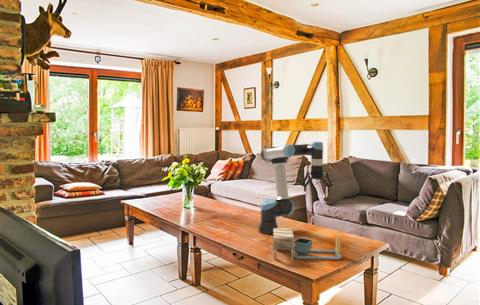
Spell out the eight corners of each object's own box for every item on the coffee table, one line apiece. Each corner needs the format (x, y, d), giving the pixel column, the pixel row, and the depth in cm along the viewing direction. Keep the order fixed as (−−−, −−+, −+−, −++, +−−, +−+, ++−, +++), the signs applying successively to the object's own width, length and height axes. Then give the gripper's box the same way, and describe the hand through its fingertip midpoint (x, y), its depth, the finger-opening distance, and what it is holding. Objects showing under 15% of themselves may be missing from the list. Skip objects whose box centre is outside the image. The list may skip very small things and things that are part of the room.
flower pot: (293, 255, 222) (293, 241, 222) (299, 251, 230) (299, 237, 229) (307, 258, 218) (307, 243, 217) (312, 253, 225) (312, 239, 224)
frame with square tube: (292, 250, 230) (292, 232, 229) (337, 252, 228) (337, 233, 227) (293, 258, 216) (294, 238, 216) (341, 259, 214) (342, 240, 213)
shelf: (273, 249, 234) (273, 228, 233) (291, 249, 233) (291, 228, 232) (273, 259, 215) (273, 237, 214) (293, 260, 214) (294, 237, 213)
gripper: (298, 165, 237) (298, 197, 239) (337, 165, 235) (336, 197, 237) (297, 164, 245) (297, 195, 246) (334, 164, 243) (334, 195, 244)
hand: (316, 196), depth 241 cm, fingers open, 13 cm apart
